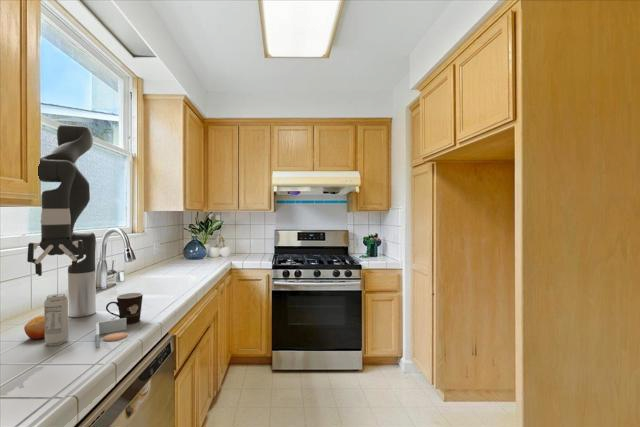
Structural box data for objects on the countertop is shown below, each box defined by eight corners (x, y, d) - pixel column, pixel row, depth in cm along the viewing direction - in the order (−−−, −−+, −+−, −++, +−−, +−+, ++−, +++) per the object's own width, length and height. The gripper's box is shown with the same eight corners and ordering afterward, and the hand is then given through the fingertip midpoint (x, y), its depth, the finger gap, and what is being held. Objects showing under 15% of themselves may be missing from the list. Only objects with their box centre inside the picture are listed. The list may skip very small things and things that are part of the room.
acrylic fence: (96, 333, 120) (96, 322, 120) (126, 329, 125) (126, 317, 125) (96, 347, 108) (96, 334, 108) (129, 341, 113) (129, 329, 113)
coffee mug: (144, 317, 139) (143, 291, 139) (141, 323, 131) (141, 296, 131) (110, 320, 135) (109, 294, 134) (105, 327, 127) (105, 300, 126)
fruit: (65, 327, 124) (56, 310, 119) (51, 346, 117) (41, 329, 113) (41, 327, 123) (31, 311, 119) (26, 346, 117) (15, 330, 112)
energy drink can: (73, 339, 116) (72, 293, 115) (58, 346, 110) (57, 298, 109) (55, 339, 116) (54, 293, 116) (39, 346, 110) (39, 297, 110)
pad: (103, 336, 118) (103, 335, 118) (126, 332, 122) (126, 331, 122) (103, 342, 112) (103, 341, 112) (128, 338, 116) (128, 337, 116)
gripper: (83, 222, 119) (84, 270, 120) (28, 223, 111) (29, 274, 112) (82, 222, 113) (83, 273, 113) (25, 224, 105) (26, 278, 106)
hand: (57, 274), depth 113 cm, fingers open, 8 cm apart
